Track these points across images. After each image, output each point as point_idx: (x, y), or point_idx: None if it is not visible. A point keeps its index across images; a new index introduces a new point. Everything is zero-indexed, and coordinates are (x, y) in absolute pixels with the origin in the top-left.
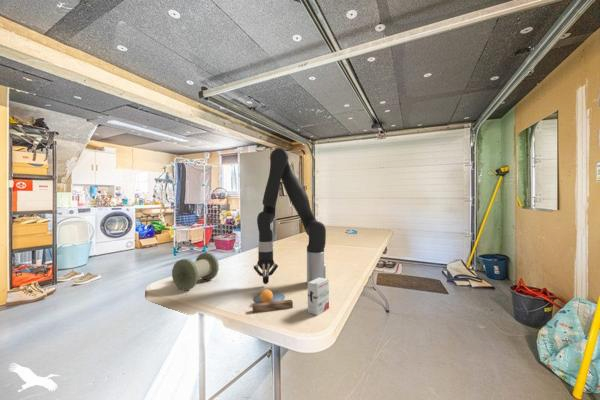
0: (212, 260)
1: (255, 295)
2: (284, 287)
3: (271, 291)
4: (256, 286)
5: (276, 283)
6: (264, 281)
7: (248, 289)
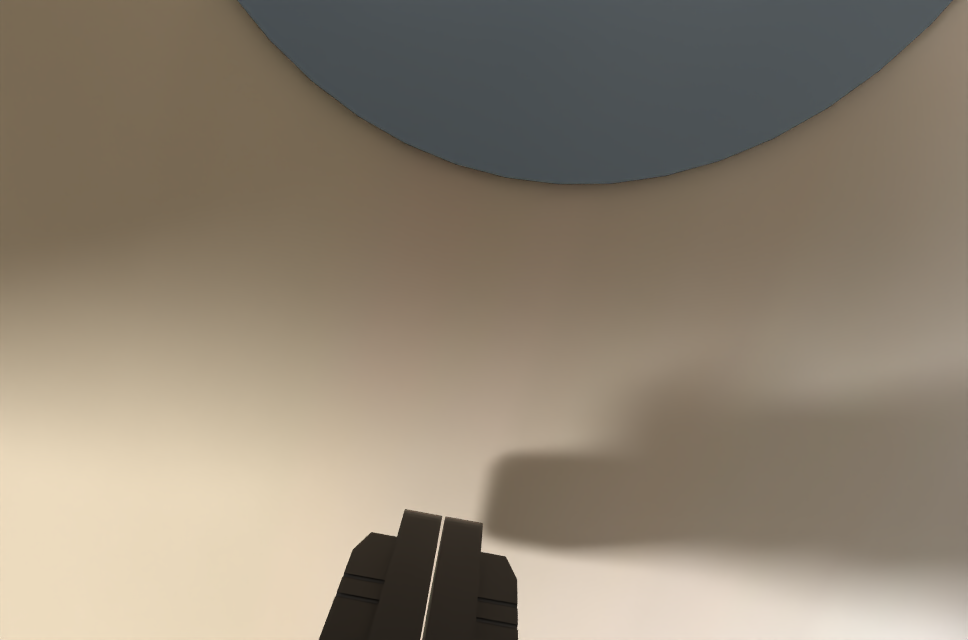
0: None
1: (914, 37)
2: (13, 259)
3: (405, 117)
4: (632, 593)
5: (165, 561)
6: (476, 580)
7: (861, 518)
